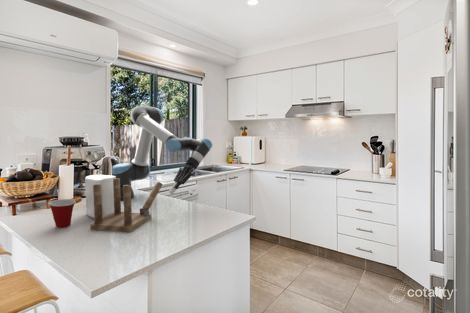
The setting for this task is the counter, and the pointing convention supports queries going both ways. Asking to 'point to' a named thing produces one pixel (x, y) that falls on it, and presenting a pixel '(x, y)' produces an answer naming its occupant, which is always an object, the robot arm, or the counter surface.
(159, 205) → the counter surface
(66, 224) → the plastic cup
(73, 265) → the counter surface
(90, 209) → the white canister
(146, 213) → the hinge bracket
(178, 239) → the counter surface
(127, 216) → the footstool
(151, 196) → the folding leg
